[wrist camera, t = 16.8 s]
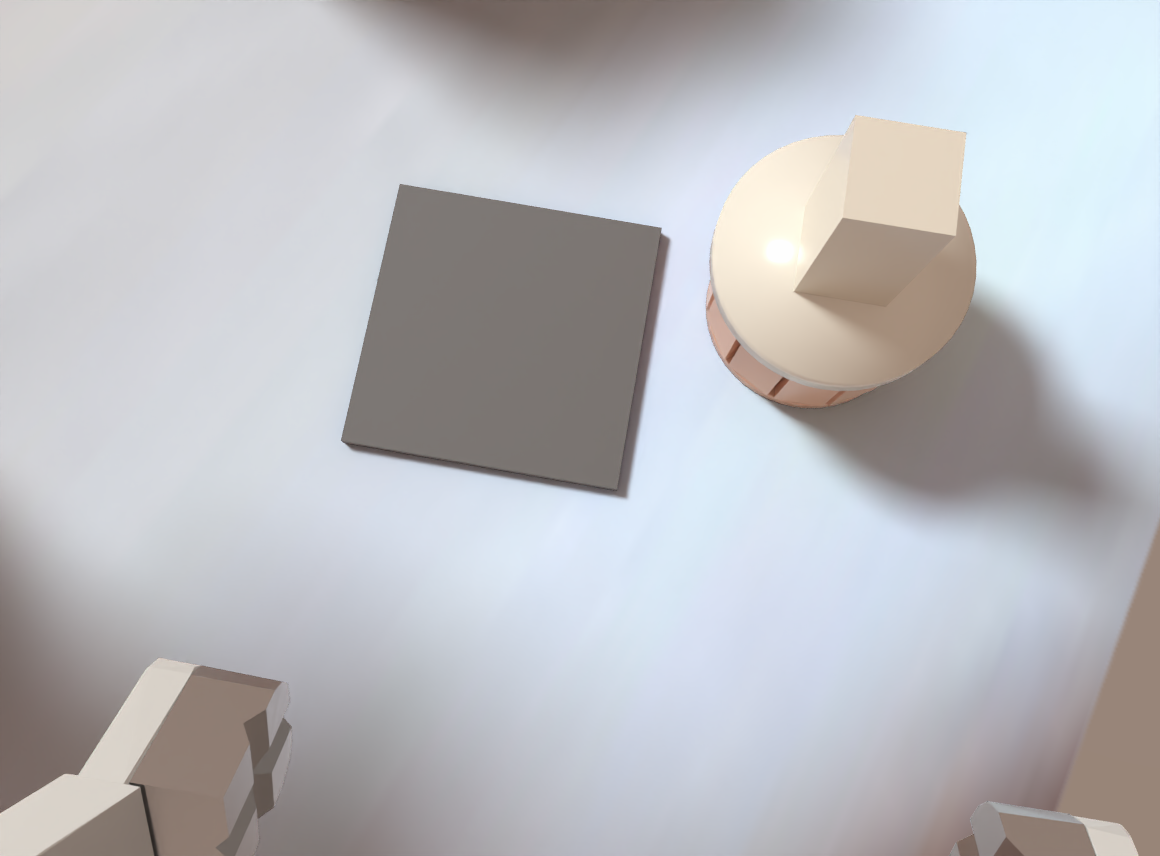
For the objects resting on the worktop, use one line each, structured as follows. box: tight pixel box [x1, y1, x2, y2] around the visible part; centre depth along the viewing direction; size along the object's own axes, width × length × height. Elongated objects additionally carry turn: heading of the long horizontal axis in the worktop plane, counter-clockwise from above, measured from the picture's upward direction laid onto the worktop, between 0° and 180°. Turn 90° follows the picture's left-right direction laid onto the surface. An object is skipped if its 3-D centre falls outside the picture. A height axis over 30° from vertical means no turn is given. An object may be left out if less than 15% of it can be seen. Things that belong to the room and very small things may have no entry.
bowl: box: [706, 280, 878, 408], centre depth 40 cm, size 9×9×5 cm
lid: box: [709, 115, 976, 391], centre depth 34 cm, size 10×10×8 cm
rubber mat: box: [341, 184, 661, 491], centre depth 42 cm, size 12×12×1 cm
